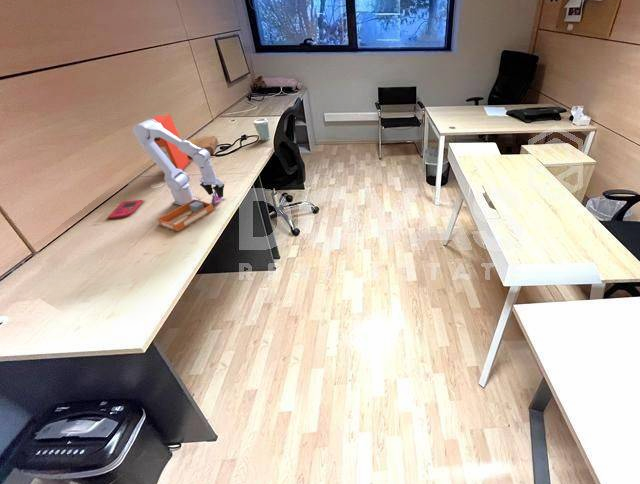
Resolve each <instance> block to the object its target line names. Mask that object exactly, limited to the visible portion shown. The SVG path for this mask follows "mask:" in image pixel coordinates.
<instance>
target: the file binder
mask: <svg viewBox="0 0 640 484" xmlns="http://www.w3.org/2000/svg"><path fill="white" fill-rule="evenodd" d="M152 119H153V120H155V121H157V122H158V123H160V124H161V125H162V127H163V128H164V129H166V130H167V131H169V132H170V133H172V134H173V135H175V136H176V137H178V138H179V139H180V140H182V139H181V137H180V134H179V132H178V130H177V127H176V125H175V123H174V120H173V117H172V115H171V114H165V115H164V114H163V115H156V116H155V117H153V118H152ZM154 142H155V143H156V144H157V145H158V147H159V148H160V149H161V150H162V152H163V153H164V154H165V155H166V156H167V158H168V159H169V160H170V161H171V163H172V164H173V165H174V166H175V168H177V169H181V170H182V171H184V169H185V168H186V167H187V166H188V165H189V164H190V159H189V157H188V156H187V154H185V153H183V152H182V151H180V150H179V149H178V146H176V145H174V144H172V143H170V142H168V141H166V140H164V139H162V138H161V137H155V138H154Z"/></svg>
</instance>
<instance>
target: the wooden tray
mask: <svg viewBox="0 0 640 484" xmlns="http://www.w3.org/2000/svg"><path fill="white" fill-rule="evenodd" d="M196 201H197V202H200V203H203V205H204V207H205V208H204V209H202V210H200V211H199V212H197V213H195V212H192V211H191V208H190V206H189V205H190V204H192V203H194V202H196ZM214 210H215V208H214V205H213V206H212V203H208V202H205V201H202V200H196V199H194V200H192V201H190V202H189V203H187V204H185V205H183V206H182V205H180V206H179V207H177V208H175V209H173V210H172V211H170V212H168V213H166V214H164V215H162V216H160V217H158V218H157V222H158V224H159V226H162V227H165V228H167V229H170V230H173V231H176V232H180V230H182V229H184V228H185V227H188V226H189V225H191V224H192V223H194V222H196V221H198V220H200V219H201V218H203V217H204V216H206V215H208V214H210V213H211V212H212V211H214ZM187 215H188V217H186V218H185V219H182V220H181V221H179V222H178V223H176V224H174V222H176V221H177V220H179V219H181V218H183V217H185V216H187Z"/></svg>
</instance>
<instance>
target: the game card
mask: <svg viewBox="0 0 640 484" xmlns="http://www.w3.org/2000/svg"><path fill="white" fill-rule="evenodd" d="M220 201H224V198H223V197H221V198H219V197H218V195H217V193H216V191H215V190H213V194H211V204H212V206H213V207H214V204H215V202H220Z"/></svg>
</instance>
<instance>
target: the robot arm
mask: <svg viewBox="0 0 640 484" xmlns="http://www.w3.org/2000/svg"><path fill="white" fill-rule="evenodd" d="M132 134H133V135H134V136H135V137H136V140H137V142H138V144H139V146H141V147H142V148H143V150H144V151H145V152H146V153H147V154H148V155H149V157H150V158H151V159H152V160H153V162H154V163H155V164H156V165H157V166H158V167H159V168H160V170H161V171H162V172H163V173H164V181H165V183H166V186H167V187H168V188H169V189H170V193H171V195H172V198H173V199H174V201H173V203H174V204H176V205H179V206H183V205H185V204H187V203H189V202H190V201H192V200H194V199H196V200H199V198H198V197H195V196H194V193H193V192H192V189H191V187H190V183H189V182H190V180H191V179H190V176H189V175H188V174H187V173H186V172H184V170H181V169H177V168H175V166H174V165H173V164H172V163H171V161H170V160H169V159H168V158H167V156H166V155H165V154H164V153H163V152H162V150H161V149H160V148H159V147H158V145H157V144H156V143H155V142H154V138H155V137H161V138H162V139H164V140H166V141H168V142H170V143H172V144H174V145H176V146H178V149H179V150H180V151H182V152H183V153H185V154H187V155H189V156H190V157H189V158H192V161H193V162H194V163H195V164H196V166H197V167H198V169H199V171H200V174H201V177H200V178H199V182H200V184H199V186H201V188H203V189H204V191H206V193H207V194H208V195H209V196H212V194H213V193H214V191H216V195H218V197H219V198H221V197H222V198H224V188H225V184H224V183H223V182H222V181H220V180H219V179H218V178H217V176H216V173H215V170H214V168H213V165H212V162H211V160H210V158H211V155H212V154H211V155H210V152H209V151H208V150H207V149H204V148H198V147H197V146H195V145H193V144H192V143H191V142H190V141H188V139H187V140H186V139H183V140H182V139H181V138H180V139H181V140H180V139H179V138H178V137H176V136H175V135H173V134H172V133H170V132H169V131H167V130H166V129H164V128H163V127H162V125H161V124H160V123H158V122H157V121H155V120H153V118H147V119H146V120H144V121H142V122H140V123H138V124H135V125H134V126H133V127H132ZM199 201H200V200H199Z"/></svg>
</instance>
